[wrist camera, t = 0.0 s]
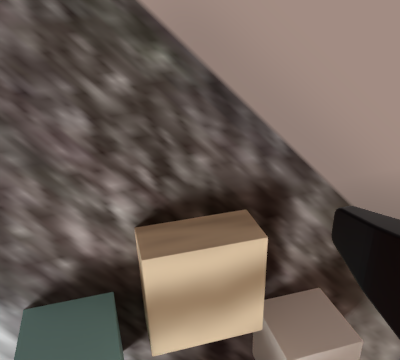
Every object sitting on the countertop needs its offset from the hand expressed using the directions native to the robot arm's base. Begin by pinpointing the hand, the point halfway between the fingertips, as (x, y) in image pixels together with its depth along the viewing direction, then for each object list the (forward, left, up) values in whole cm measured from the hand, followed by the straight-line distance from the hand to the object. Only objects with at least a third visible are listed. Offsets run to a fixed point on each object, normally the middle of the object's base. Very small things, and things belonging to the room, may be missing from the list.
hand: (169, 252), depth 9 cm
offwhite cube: (-20, -12, -15) cm, 28 cm away
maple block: (-12, -4, -15) cm, 20 cm away
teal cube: (-16, +5, -15) cm, 23 cm away
